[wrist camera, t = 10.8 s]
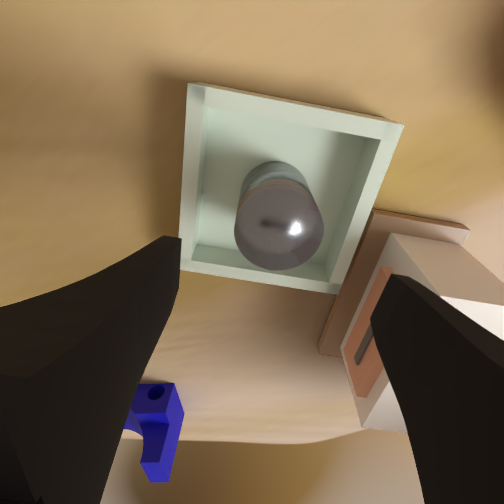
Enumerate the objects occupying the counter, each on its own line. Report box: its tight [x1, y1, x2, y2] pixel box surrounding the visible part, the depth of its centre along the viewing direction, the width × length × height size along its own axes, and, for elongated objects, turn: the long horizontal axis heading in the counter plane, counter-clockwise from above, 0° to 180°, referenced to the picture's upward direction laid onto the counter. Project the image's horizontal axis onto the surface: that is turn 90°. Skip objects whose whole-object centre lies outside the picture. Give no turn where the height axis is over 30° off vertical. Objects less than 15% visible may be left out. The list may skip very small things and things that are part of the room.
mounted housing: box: [317, 209, 504, 434], centre depth 19 cm, size 6×12×7 cm, turn 170°
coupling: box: [234, 161, 324, 270], centre depth 16 cm, size 4×4×5 cm
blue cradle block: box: [124, 383, 184, 482], centre depth 27 cm, size 12×4×6 cm, turn 96°
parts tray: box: [179, 82, 404, 295], centre depth 18 cm, size 10×10×2 cm
